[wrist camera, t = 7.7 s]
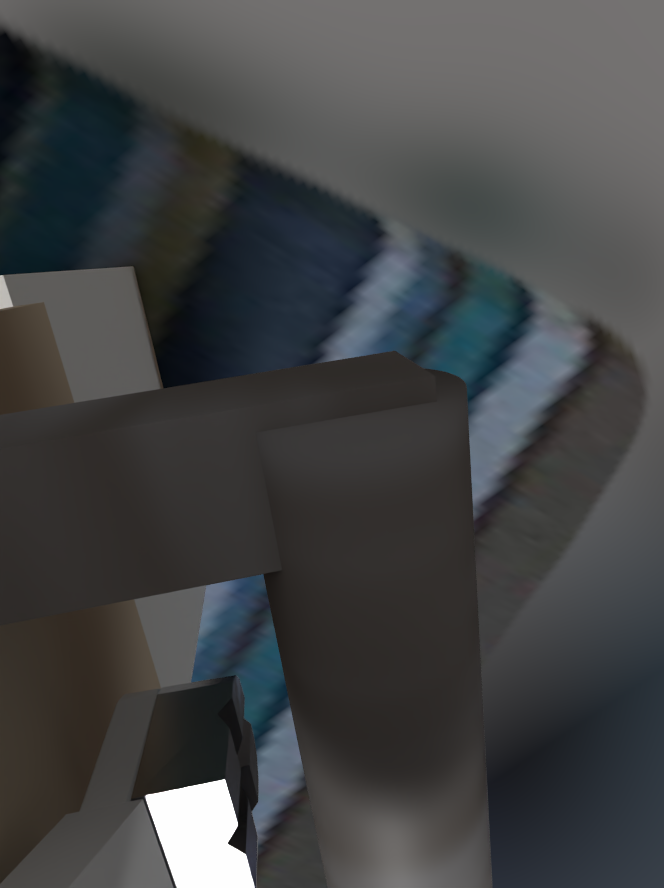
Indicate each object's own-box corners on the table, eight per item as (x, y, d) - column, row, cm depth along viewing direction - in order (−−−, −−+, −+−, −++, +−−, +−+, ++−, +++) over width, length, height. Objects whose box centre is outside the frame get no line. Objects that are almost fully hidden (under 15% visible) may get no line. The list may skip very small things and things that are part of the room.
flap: (93, 1318, 6) (542, 1176, 7) (-543, 419, 3) (537, 256, 3) (170, 794, 13) (402, 741, 13) (12, 306, 9) (345, 258, 9)
